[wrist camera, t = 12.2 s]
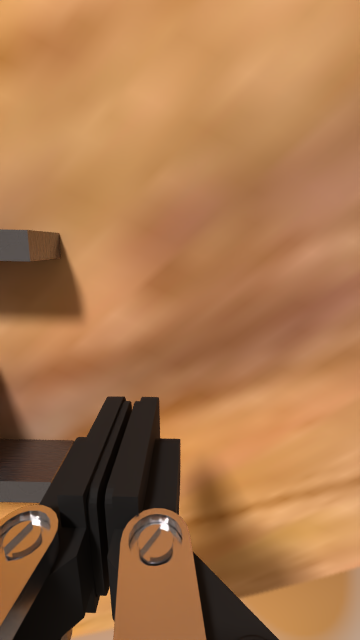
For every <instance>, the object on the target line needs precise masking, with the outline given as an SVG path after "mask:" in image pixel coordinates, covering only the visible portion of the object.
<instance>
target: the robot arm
mask: <svg viewBox="0 0 360 640" xmlns="http://www.w3.org/2000/svg"><path fill="white" fill-rule="evenodd" d="M179 495H180V439H160V416H159V397H142V398H141V401H135V403H134V406H133V409H132V405H131V401H126V399H125V397H107V398H106V400H105V402H104V404H103V406H102V408H101V410H100V412H99V414H98V416H97V418H96V420H95V422H94V424H93V426H92V428H91V430H90V431H89V433H88V435H87V437H78V438H77V439H76V440H75V441H74V443H73V445H72V447H71V449H70V450H69V452H68V454H67V456H66V458H65V459H64V461H63V463H62V465H61V466H60V468H59V470H58V472H57V474H56V475H55V477H54V479H53V481H52V483H51V484H50V486H49V488H48V490H47V491H46V493H45V495H44V497H43V499H42V500H41V502H40V504H39V505H30V506H26V507H22V508H20V509H17V510H15V511H13V512H11V513H9V514H8V515H7V516H5V517H4V518H2V519H1V520H0V640H70V639H71V635H72V628H73V627H74V626H75V625H76V624H77V623H78V622H80V621H81V620H82V619H83V618H84V616H85V612H86V613H96V609H97V605H98V601H99V597H100V595H101V596H106V595H107V593H108V590H109V586H110V595H111V606H112V617H113V620H114V622H115V624H114V638H113V640H279V639H278V638H277V637H276V636H275V635H274V634H273V633H272V632H271V631H270V630H269V629H268V628H267V627H266V626H265V625H264V624H263V623H262V622H261V621H260V620H259V619H258V618H257V617H256V616H255V615H254V614H253V613H252V612H251V611H250V610H249V609H248V608H247V607H246V606H245V605H244V604H243V602H242V601H241V600H240V599H239V598H238V597H237V596H236V595H235V594H234V593H233V592H232V591H231V590H230V589H229V588H228V587H227V586H226V585H225V584H224V583H223V582H222V581H221V580H220V579H219V578H218V577H217V576H216V575H215V574H214V573H213V572H212V571H211V570H210V569H209V568H208V567H207V566H206V565H205V564H204V563H203V562H202V561H201V559H200V558H199V557H198V556H197V555H196V554H195V553H194V552H193V551H192V545H191V538H190V533H189V530H188V527H187V524H186V523H185V522H184V520H183V519H182V518H181V517H180V516H179Z"/></svg>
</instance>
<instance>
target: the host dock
mask: <svg viewBox="0 0 360 640" xmlns="http://www.w3.org/2000/svg"><path fill="white" fill-rule="evenodd" d="M57 258H61V254H60V240H59V233H53V232H42V231H31V230H0V261H39V260H48V259H57ZM73 443H74V441H65V440H16V439H0V502H32V503H40V502H41V500H42V499H43V497H44V495H45V493H46V491H47V490H48V488H49V486H50V484H51V483H52V481H53V479H54V477H55V475H56V474H57V472H58V470H59V468H60V466H61V465H62V463H63V461H64V459H65V458H66V456H67V454H68V452H69V450H70V449H71V447H72V445H73Z"/></svg>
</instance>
